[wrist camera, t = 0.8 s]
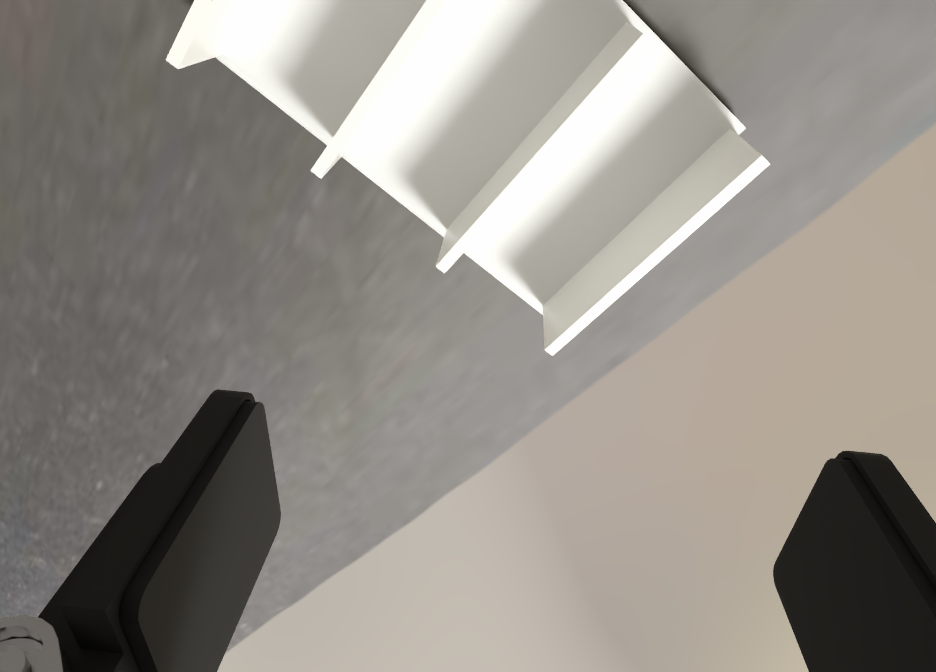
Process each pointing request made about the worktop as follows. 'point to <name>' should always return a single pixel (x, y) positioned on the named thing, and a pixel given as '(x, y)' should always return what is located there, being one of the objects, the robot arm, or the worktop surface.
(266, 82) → the shelf rack
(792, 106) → the worktop surface
